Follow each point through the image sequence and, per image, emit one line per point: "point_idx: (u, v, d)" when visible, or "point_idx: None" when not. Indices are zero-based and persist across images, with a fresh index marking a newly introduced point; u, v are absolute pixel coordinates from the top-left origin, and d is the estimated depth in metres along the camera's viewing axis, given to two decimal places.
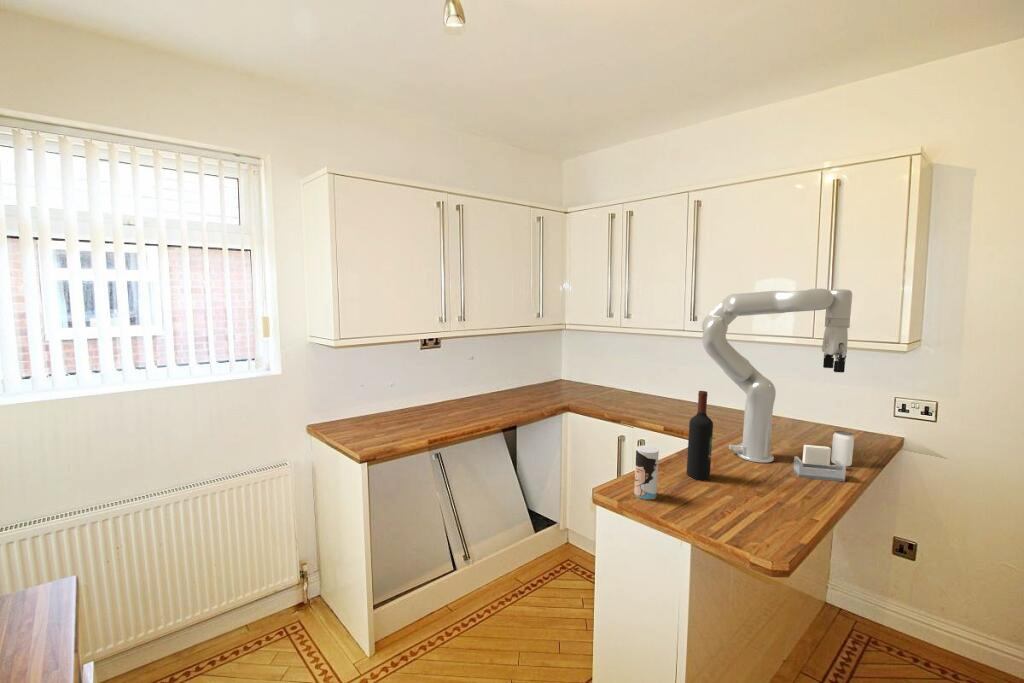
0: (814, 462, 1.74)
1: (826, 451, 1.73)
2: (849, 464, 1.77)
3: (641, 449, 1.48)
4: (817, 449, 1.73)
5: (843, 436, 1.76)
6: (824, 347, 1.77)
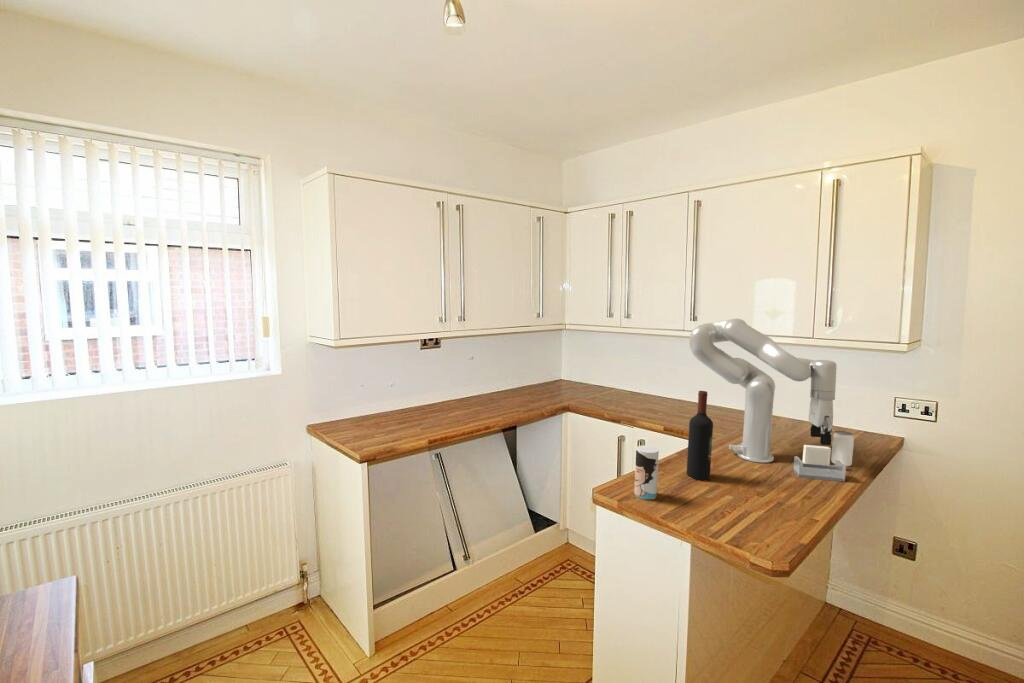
0: (814, 462, 1.74)
1: (826, 451, 1.73)
2: (849, 464, 1.77)
3: (641, 449, 1.48)
4: (817, 449, 1.73)
5: (843, 436, 1.76)
6: (810, 417, 1.76)
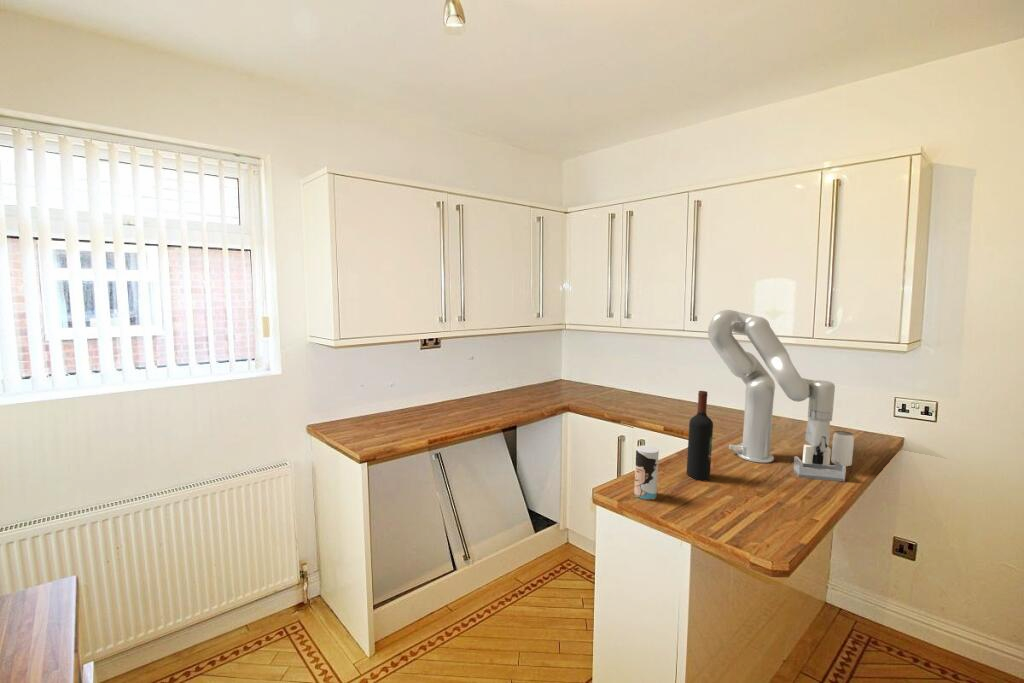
0: None
1: (826, 451, 1.73)
2: (849, 464, 1.77)
3: (641, 449, 1.48)
4: (817, 449, 1.73)
5: (843, 436, 1.76)
6: (807, 436, 1.77)
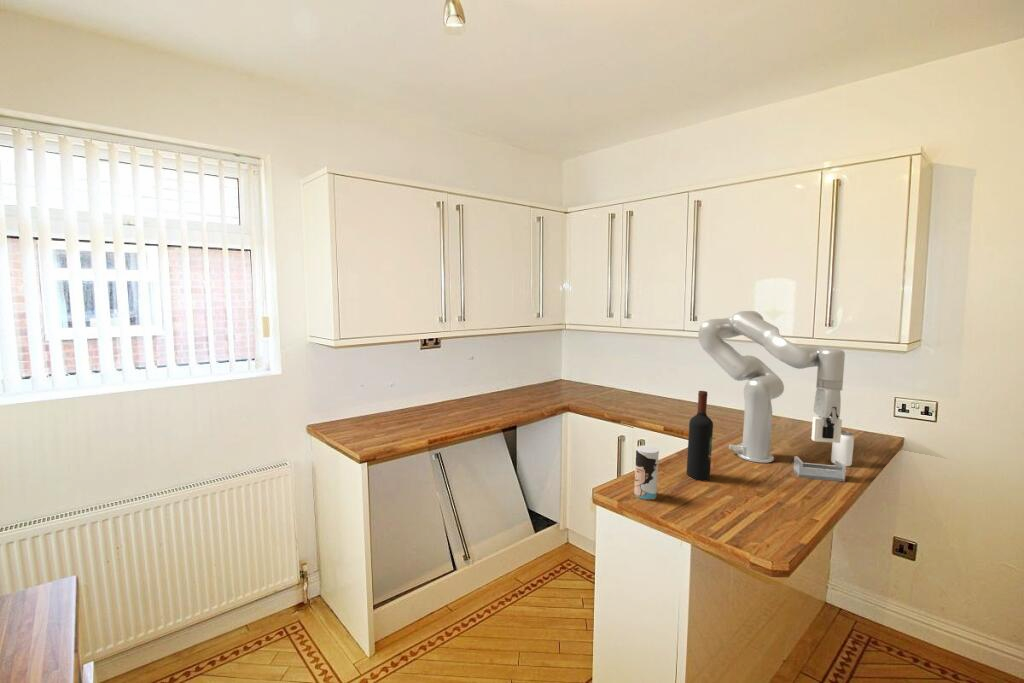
0: None
1: (837, 422, 1.63)
2: (849, 464, 1.77)
3: (641, 449, 1.48)
4: None
5: (843, 436, 1.76)
6: (816, 408, 1.67)
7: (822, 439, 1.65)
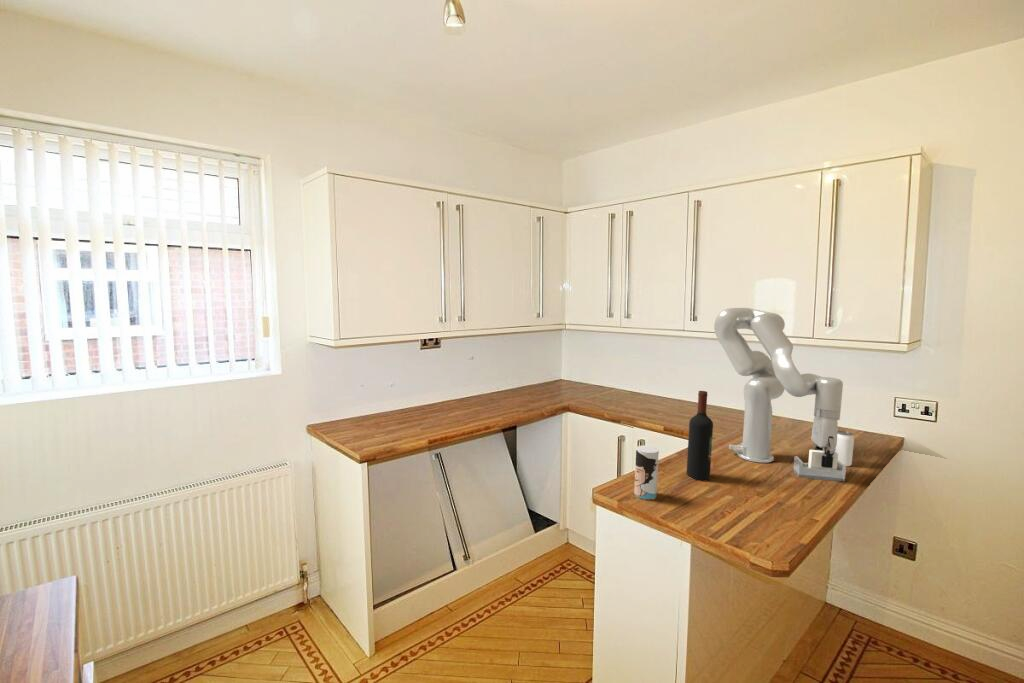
0: (820, 468, 1.66)
1: None
2: (849, 464, 1.77)
3: (641, 449, 1.48)
4: None
5: (843, 436, 1.76)
6: (813, 436, 1.68)
7: None
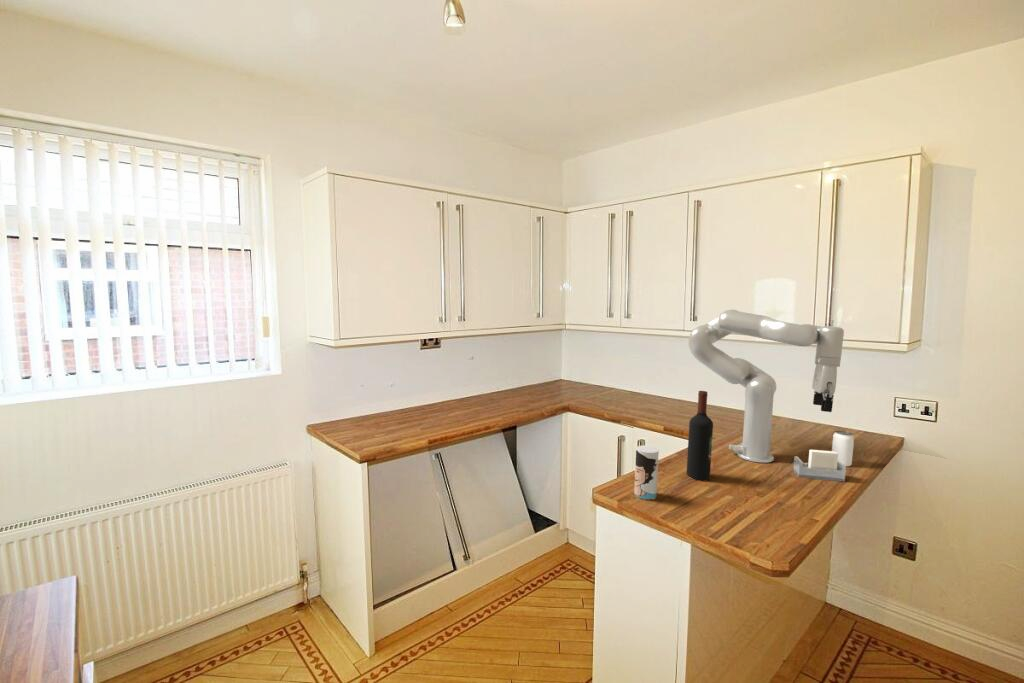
0: (820, 468, 1.66)
1: (833, 456, 1.64)
2: (849, 464, 1.77)
3: (641, 449, 1.48)
4: (824, 454, 1.65)
5: (843, 436, 1.76)
6: (814, 384, 1.73)
7: None
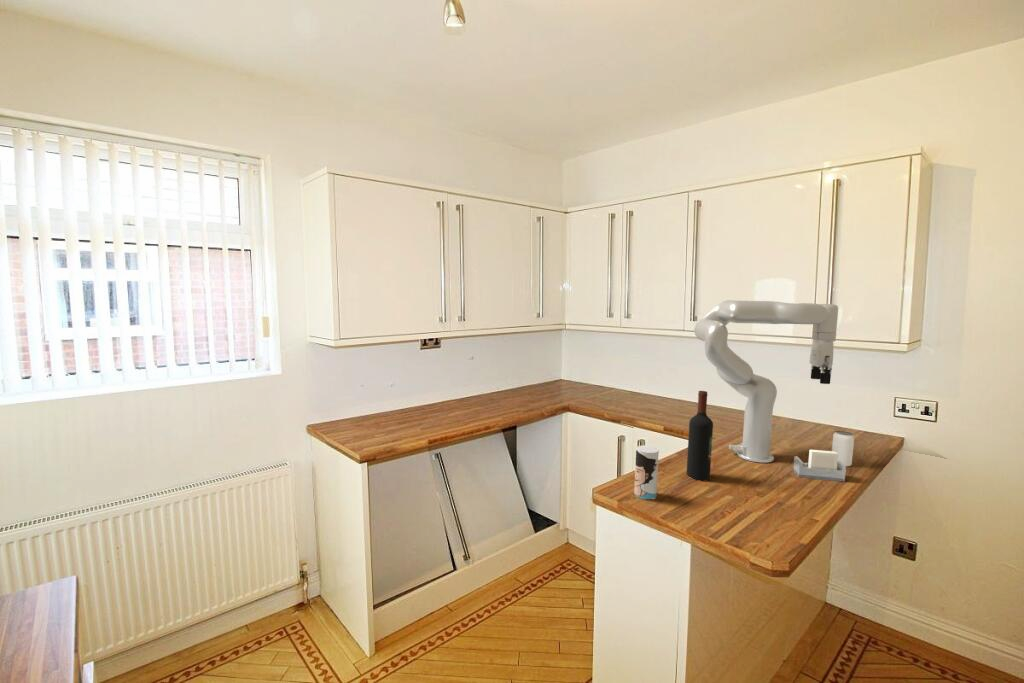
0: (820, 468, 1.66)
1: (833, 456, 1.64)
2: (849, 464, 1.77)
3: (641, 449, 1.48)
4: (824, 454, 1.65)
5: (843, 436, 1.76)
6: (811, 359, 1.84)
7: None
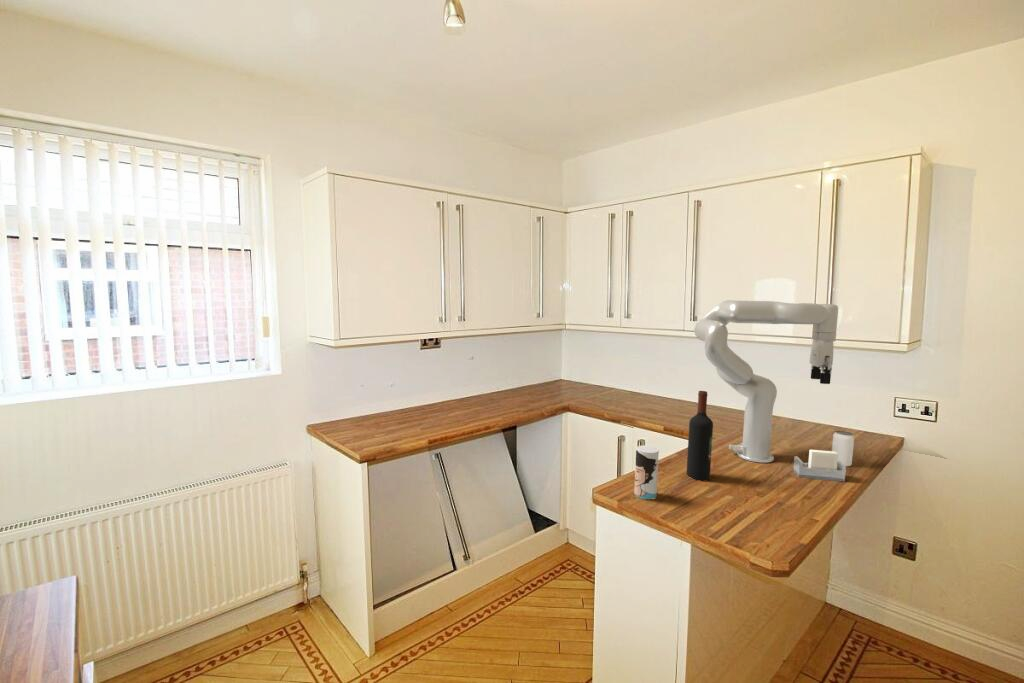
0: (820, 468, 1.66)
1: (833, 456, 1.64)
2: (849, 464, 1.77)
3: (641, 449, 1.48)
4: (824, 454, 1.65)
5: (843, 436, 1.76)
6: (811, 359, 1.84)
7: None
